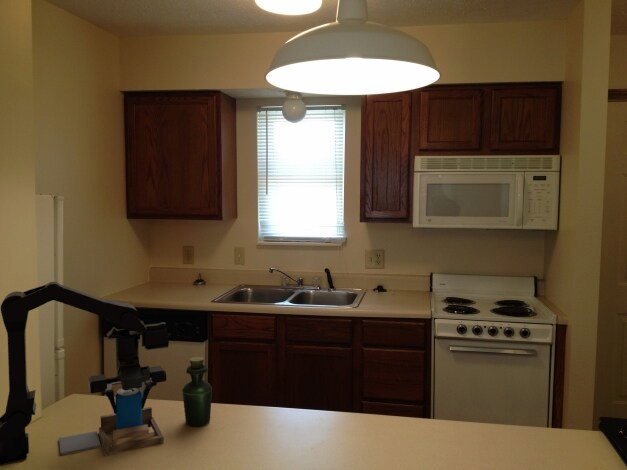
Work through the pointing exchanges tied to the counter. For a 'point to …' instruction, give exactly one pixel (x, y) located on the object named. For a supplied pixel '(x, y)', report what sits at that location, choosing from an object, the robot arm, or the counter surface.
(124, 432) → the offcut stack
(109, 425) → the rack
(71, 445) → the rubber mat
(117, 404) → the beverage can
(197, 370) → the potion bottle
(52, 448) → the counter surface
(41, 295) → the robot arm
